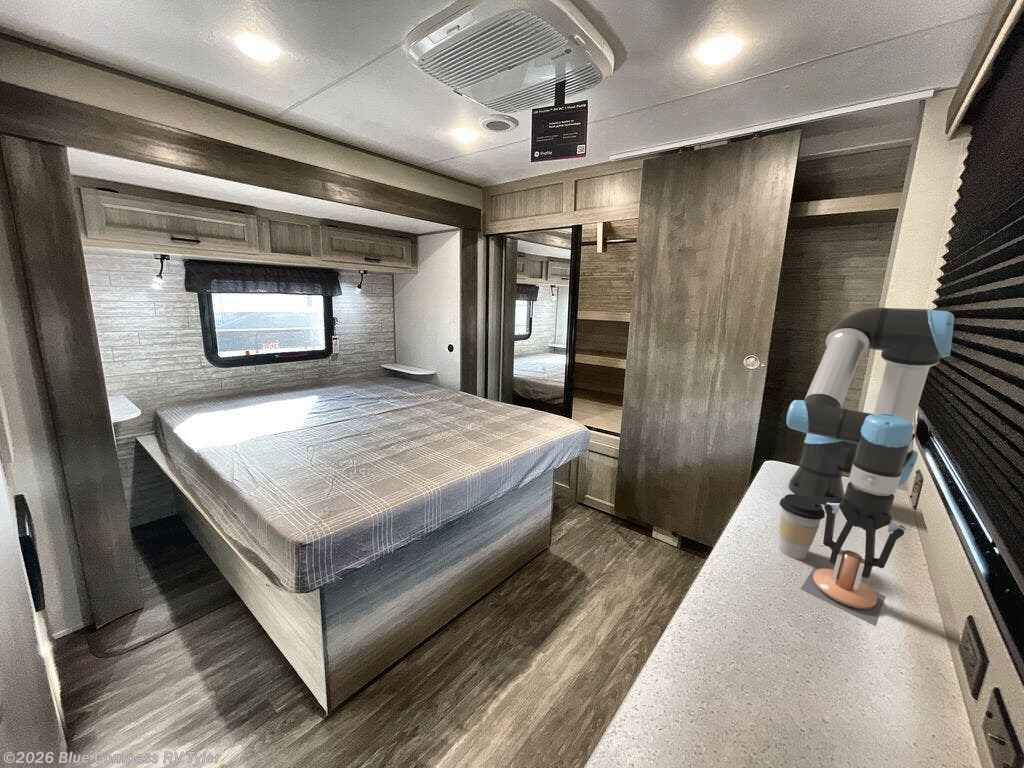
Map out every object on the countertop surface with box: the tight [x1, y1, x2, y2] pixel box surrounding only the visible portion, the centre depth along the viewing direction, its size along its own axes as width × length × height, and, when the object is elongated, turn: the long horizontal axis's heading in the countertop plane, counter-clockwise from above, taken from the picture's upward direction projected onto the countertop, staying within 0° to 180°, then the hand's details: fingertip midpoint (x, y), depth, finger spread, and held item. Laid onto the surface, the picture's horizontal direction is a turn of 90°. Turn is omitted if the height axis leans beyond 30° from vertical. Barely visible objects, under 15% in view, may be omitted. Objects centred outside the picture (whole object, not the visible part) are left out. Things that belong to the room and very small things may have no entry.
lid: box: [813, 550, 877, 609], centre depth 89 cm, size 11×11×9 cm
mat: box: [800, 565, 886, 627], centre depth 90 cm, size 13×13×1 cm
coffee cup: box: [778, 493, 826, 560], centre depth 103 cm, size 9×9×15 cm
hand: (845, 581), depth 90 cm, fingers closed on lid, 3 cm apart
